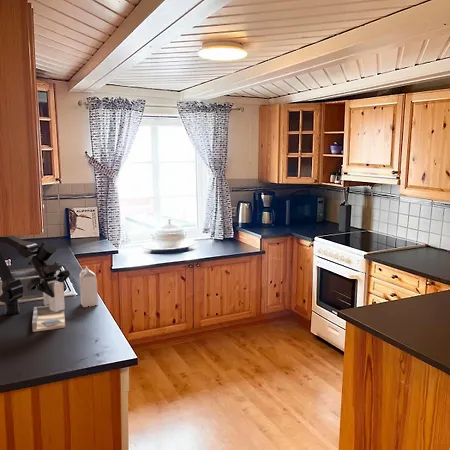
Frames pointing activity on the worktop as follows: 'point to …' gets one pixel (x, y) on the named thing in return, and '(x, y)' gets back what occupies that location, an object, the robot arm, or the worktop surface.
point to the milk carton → (88, 288)
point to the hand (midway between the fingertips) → (58, 295)
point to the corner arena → (47, 319)
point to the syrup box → (46, 297)
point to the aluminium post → (56, 296)
